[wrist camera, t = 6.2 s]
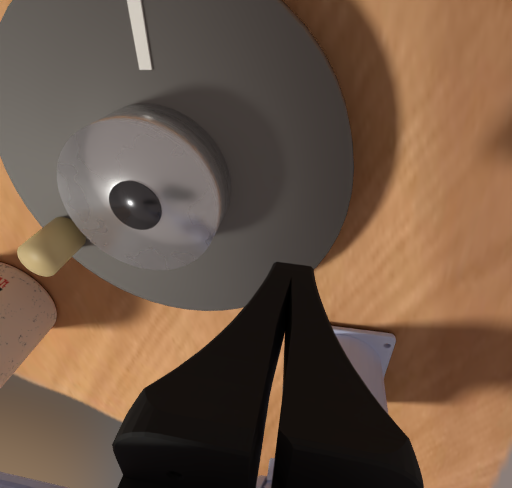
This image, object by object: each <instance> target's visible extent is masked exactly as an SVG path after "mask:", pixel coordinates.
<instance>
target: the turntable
mask: <svg viewBox="0 0 512 488" xmlns="http://www.w3.org/2000/svg"><path fill="white" fill-rule="evenodd" d="M147 103H149V104H156V105H161V106H165V107H169V108H171V109H174V110H176V111H179V112H181V113H182V114H184V115H186V116H188V117H189V118H191V119H192V120H194V121H195V122H196V123H198V124H199V125H200V126H201V127H202V128H203V129H204V130H205V131H206V132H207V133H208V134H209V135H210V136H211V137H212V138H213V140H214V141H215V142H216V144H217V145H218V147H219V148H220V150H221V152H222V154H223V156H224V158H225V160H226V163H227V166H228V169H229V173H230V178H231V197H230V203H229V205H228V208H227V211H226V213H225V215H224V217H223V219H222V221H221V223H220V225H219V227H218V229H217V231H216V233H215V235H214V237H213V239H212V241H211V243H210V245H209V247H208V248H207V249H206V251H205V252H204V253H203V254H202V255H201V256H200V257H199V258H198V259H196V260H195V261H193V262H192V263H190V264H188V265H185V266H183V267H180V268H176V269H170V270H149V269H143V268H139V267H135V266H132V265H129V264H126V263H124V262H121V261H119V260H117V259H115V258H113V257H112V256H110V255H108V254H107V253H105V252H104V251H102V250H101V249H99V248H98V247H97V246H96V245H94V244H93V243H92V242H91V241H90V240H89V239H88V238H87V237H86V236H85V235H84V234H83V233H82V232H81V231H80V230H79V229H78V227H77V226H76V225H75V223H74V222H73V220H72V219H71V218H70V216H69V214H68V212H67V210H66V209H65V207H64V204H63V202H62V199H61V197H60V193H59V189H58V184H57V164H58V159H59V156H60V153H61V151H62V149H63V147H64V145H65V143H66V142H67V141H68V140H69V138H70V137H71V136H72V135H74V134H75V133H76V132H77V131H79V130H80V129H82V128H84V127H86V126H88V125H90V124H91V123H93V122H95V121H97V120H99V119H101V118H103V117H105V116H107V115H109V114H110V113H112V112H114V111H116V110H118V109H120V108H123V107H125V106H128V105H133V104H147ZM0 156H1V159H2V161H3V164H4V166H5V169H6V171H7V173H8V175H9V177H10V179H11V181H12V183H13V185H14V187H15V189H16V190H17V192H18V194H19V195H20V197H21V198H22V200H23V202H24V203H25V205H26V206H27V208H28V209H29V211H30V212H31V213H32V215H33V216H34V217H35V219H36V220H37V221H38V222H39V224H40V225H41V226H42V227H43V228H42V229H41V230H39V231H38V232H37V233H36V234H34V235H33V236H32V237H31V238H29V239H28V240H27V241H26V242H24V243H23V244H22V245H21V246H19V248H18V250H17V254H18V257H19V260H20V261H21V263H22V264H23V265H24V266H25V267H26V268H27V269H28V270H30V271H31V272H33V273H35V274H37V275H40V276H44V277H49V276H53V275H54V274H55V273H56V272H57V271H58V270H59V269H60V268H61V267H62V266H63V265H64V264H65V263H66V262H67V261H68V260H69V259H70V258H71V257H73V258H74V259H75V260H77V261H78V262H79V263H80V264H82V265H83V266H84V267H86V268H87V269H88V270H90V271H91V272H93V273H94V274H96V275H97V276H99V277H100V278H102V279H104V280H105V281H107V282H109V283H111V284H113V285H114V286H116V287H118V288H120V289H122V290H124V291H127V292H129V293H131V294H133V295H135V296H138V297H141V298H144V299H146V300H149V301H152V302H155V303H159V304H163V305H167V306H171V307H176V308H182V309H189V310H201V311H217V310H229V309H237V308H242V307H245V306H246V305H247V303H248V302H249V301H250V300H251V298H252V297H253V296H254V294H255V293H256V292H257V290H258V289H259V287H260V286H261V285H262V283H263V281H264V280H265V278H266V277H267V275H268V273H269V271H270V270H271V268H272V265H273V263H275V262H283V263H291V264H298V265H306V266H311V267H312V268H313V269H315V268H316V267H317V266H318V264H319V263H320V262H321V261H322V259H323V258H324V257H325V256H326V254H327V253H328V252H329V250H330V248H331V247H332V245H333V243H334V242H335V240H336V238H337V237H338V235H339V232H340V230H341V227H342V225H343V222H344V220H345V217H346V215H347V211H348V207H349V202H350V198H351V194H352V185H353V173H354V161H353V143H352V135H351V128H350V123H349V118H348V113H347V108H346V103H345V101H344V98H343V95H342V92H341V89H340V86H339V83H338V80H337V77H336V75H335V73H334V71H333V69H332V67H331V65H330V64H329V62H328V60H327V58H326V56H325V54H324V52H323V50H322V49H321V47H320V46H319V44H318V43H317V41H316V40H315V39H314V37H313V36H312V34H311V33H310V31H309V30H308V28H307V27H306V26H305V25H304V24H303V22H302V21H301V20H300V19H299V18H298V17H297V16H296V15H295V14H294V13H293V12H292V10H291V9H290V8H289V7H288V6H287V5H286V4H285V3H284V2H283V1H282V0H13V1H12V2H11V3H10V5H9V6H8V8H7V10H6V12H5V14H4V16H3V18H2V20H1V22H0Z"/></svg>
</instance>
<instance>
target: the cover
mask: <svg viewBox="0 0 512 488" xmlns="http://www.w3.org/2000/svg"><path fill="white" fill-rule="evenodd" d="M57 184H58V189H59V193H60V197H61V199H62V202H63V204H64V207H65V209H66V210H67V212H68V214H69V216H70V218H71V219H72V220H73V222H74V223H75V225H76V226H77V227H78V229H79V230H80V231H81V232H82V233H83V234H84V235H85V236H86V237H87V238H88V239H89V240H90V241H91V242H92V243H93V244H94V245H96V246H97V247H98V248H99V249H101V250H102V251H104V252H105V253H107V254H108V255H110V256H112V257H113V258H115V259H117V260H119V261H121V262H124V263H126V264H129V265H132V266H135V267H139V268H143V269H149V270H170V269H176V268H180V267H183V266H185V265H188V264H190V263H192V262H193V261H195V260H196V259H198V258H199V257H200V256H201V255H202V254H203V253H204V252H205V251H206V249H207V248H208V247H209V245H210V243H211V241H212V239H213V237H214V235H215V233H216V231H217V229H218V227H219V225H220V223H221V221H222V219H223V217H224V215H225V213H226V211H227V208H228V205H229V203H230V197H231V178H230V173H229V169H228V166H227V163H226V160H225V158H224V156H223V154H222V152H221V150H220V148H219V147H218V145H217V144H216V142H215V141H214V140H213V138H212V137H211V136H210V135H209V134H208V133H207V132H206V131H205V130H204V129H203V128H202V127H201V126H200V125H199V124H198V123H196V122H195V121H194V120H192V119H191V118H189V117H188V116H186V115H184V114H182V113H181V112H179V111H176V110H174V109H171V108H169V107H165V106H161V105H156V104H149V103H147V104H133V105H128V106H125V107H123V108H120V109H118V110H116V111H114V112H112V113H110V114H109V115H107V116H105V117H103V118H101V119H99V120H97V121H95V122H93V123H91V124H90V125H88V126H86V127H84V128H82V129H80V130H79V131H77V132H76V133H75V134H74V135H72V136H71V137H70V138H69V140H68V141H67V142H66V143H65V145H64V147H63V149H62V151H61V153H60V156H59V159H58V164H57Z"/></svg>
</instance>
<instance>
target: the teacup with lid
mask: <svg viewBox="0 0 512 488" xmlns="http://www.w3.org/2000/svg"><path fill="white" fill-rule="evenodd" d="M56 318H57V312H56V307H55V304H54V302H53V300H52V298H51V297H50V295H49V294H48V293H47V291H46V290H45V289H44V288H43V287H42V286H41V285H40V284H39V283H38V282H37V281H36V280H34V279H33V278H32V277H30V276H29V275H28V274H26V273H24V272H23V271H21V270H19V269H17V268H15V267H13V266H10V265H8V264H5V263H2V262H0V388H1V387H2V386H3V385H4V384H5V382H6V381H7V380H8V379H9V378H10V376H11V375H12V374H13V373H14V372H15V371H16V369H17V368H18V367H19V366H20V365H21V363H22V362H23V361H24V360H25V359H26V358H27V356H28V355H29V354H30V353H31V352H32V350H33V349H34V348H35V347H36V346H37V345H38V343H39V342H40V341H41V340H42V339H43V338H44V336H45V335H46V334H47V333H48V332H49V330H50V329H51V328H52V327H53V326H54V324H55V322H56Z"/></svg>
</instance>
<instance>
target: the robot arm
mask: <svg viewBox="0 0 512 488" xmlns="http://www.w3.org/2000/svg"><path fill="white" fill-rule="evenodd" d="M284 333H285V347H284V375H283V395H282V405H281V413H280V421H279V429H278V437H277V445H276V453H275V458H270V461H269V468H268V475H267V476H262V475H261V476H258V470H259V463H260V456H261V449H262V443H263V436H264V429H265V422H266V416H267V409H268V403H269V396H270V391H271V387H272V382H273V378H274V374H275V370H276V366H277V362H278V358H279V354H280V350H281V346H282V342H283V337H284ZM395 343H396V338H395V336H394V335H393V334H391V333H384V332H376V331H369V330H361V329H353V328H345V327H337V326H331V324H330V322H329V320H328V317H327V315H326V312H325V310H324V307H323V304H322V302H321V299H320V296H319V293H318V289H317V286H316V282H315V277H314V269H313V268H312V267H311V266H306V265H298V264H291V263H283V262H275V263H273V265H272V268H271V270H270V271H269V273H268V275H267V277H266V278H265V280H264V281H263V283H262V285H261V286H260V287H259V289H258V290H257V292H256V293H255V294H254V296H253V297H252V298H251V300H250V301H249V302H248V303H247V305H246V306H245V307H244V308H243V309H242V311H241V312H240V313H239V314H238V315H237V316H236V317H235V319H234V320H233V321H232V322H231V323H230V324H229V325H228V326H227V327H226V328H225V329H224V330H223V331H222V332H221V333H220V334H219V335H217V336H216V337H215V338H214V339H213V340H212V341H211V342H210V343H208V344H207V345H206V346H205V347H204V348H203V349H201V350H200V351H199V352H198V353H196V354H195V355H194V356H192V357H191V358H190V359H188V360H187V361H185V362H184V363H183V364H181V365H180V366H179V367H177V368H176V369H174V370H173V371H171V372H170V373H168V374H167V375H165V376H163V377H162V378H160V379H159V380H157V381H155V382H154V383H152V384H151V385H149V386H147V387H146V388H144V389H143V391H142V392H141V393H140V395H139V396H138V398H137V399H136V401H135V402H134V404H133V405H132V407H131V408H130V410H129V411H128V413H127V415H126V417H125V419H124V421H123V423H122V425H121V427H120V429H119V431H118V433H117V436H116V438H115V440H114V442H113V444H112V446H113V451H114V454H115V456H116V459H117V461H118V464H119V466H120V468H121V471H122V473H123V477H122V479H121V481H120V484H119V486H118V488H424V485H423V479H422V475H421V472H420V468H419V465H418V462H417V459H416V456H415V453H414V450H413V447H412V445H411V442H410V440H409V438H408V437H407V436H406V435H405V433H404V432H403V431H402V430H401V429H400V428H399V427H398V426H397V424H396V423H395V422H394V421H393V420H392V418H391V417H390V416H389V415H388V408H387V400H386V393H385V385H384V376H385V373H386V370H387V367H388V364H389V361H390V358H391V355H392V352H393V349H394V346H395ZM0 488H67V487H64V486H59V485H55V484H50V483H46V482H42V481H38V480H33V479H29V478H25V477H20V476H16V475H11V474H8V473H3V472H0Z"/></svg>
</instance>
